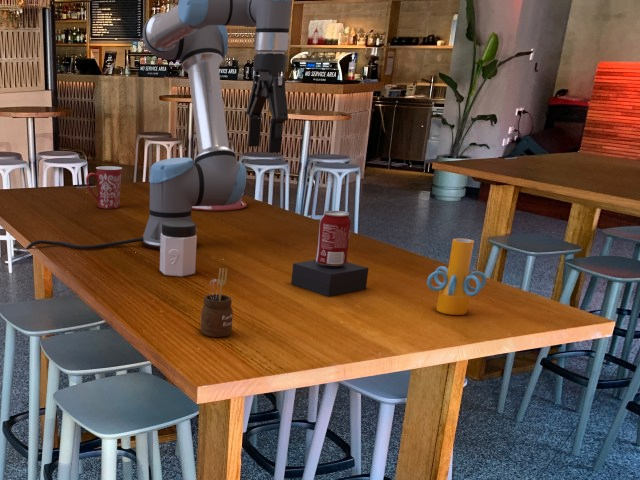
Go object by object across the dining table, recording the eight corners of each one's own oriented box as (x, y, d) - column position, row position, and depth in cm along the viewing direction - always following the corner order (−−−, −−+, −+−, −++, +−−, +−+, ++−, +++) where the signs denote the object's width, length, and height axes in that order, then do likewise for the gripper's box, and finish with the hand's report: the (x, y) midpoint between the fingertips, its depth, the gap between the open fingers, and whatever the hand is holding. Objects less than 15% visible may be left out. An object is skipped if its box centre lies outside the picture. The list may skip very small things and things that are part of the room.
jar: (155, 274, 192) (156, 225, 187) (164, 267, 199) (165, 219, 194) (191, 278, 189) (193, 228, 185) (198, 270, 197) (200, 221, 192)
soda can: (346, 269, 178) (352, 216, 173) (315, 268, 179) (321, 214, 174) (345, 262, 184) (351, 210, 179) (315, 261, 185) (320, 209, 180)
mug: (118, 204, 283) (118, 165, 278) (124, 208, 275) (124, 169, 270) (84, 205, 281) (83, 166, 276) (88, 210, 273) (88, 169, 267)
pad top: (329, 285, 175) (330, 274, 174) (291, 273, 184) (292, 263, 183) (367, 278, 181) (368, 267, 180) (329, 267, 190) (330, 257, 189)
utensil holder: (196, 335, 150) (199, 274, 145) (205, 326, 155) (208, 266, 151) (227, 339, 148) (230, 277, 143) (235, 329, 153) (238, 269, 149)
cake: (218, 197, 300) (219, 168, 296) (261, 207, 280) (263, 176, 276) (163, 202, 288) (164, 172, 284) (204, 213, 268) (206, 181, 264)
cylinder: (472, 323, 158) (485, 249, 153) (418, 314, 164) (430, 242, 158) (483, 308, 168) (496, 238, 162) (432, 300, 173) (443, 232, 167)
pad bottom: (328, 296, 176) (329, 285, 175) (291, 284, 185) (291, 273, 184) (366, 289, 182) (367, 278, 181) (327, 277, 191) (329, 267, 190)
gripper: (308, 53, 171) (299, 155, 179) (266, 53, 193) (259, 143, 201) (276, 53, 169) (268, 155, 177) (236, 53, 192) (231, 144, 200)
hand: (263, 149), depth 189 cm, fingers open, 13 cm apart
